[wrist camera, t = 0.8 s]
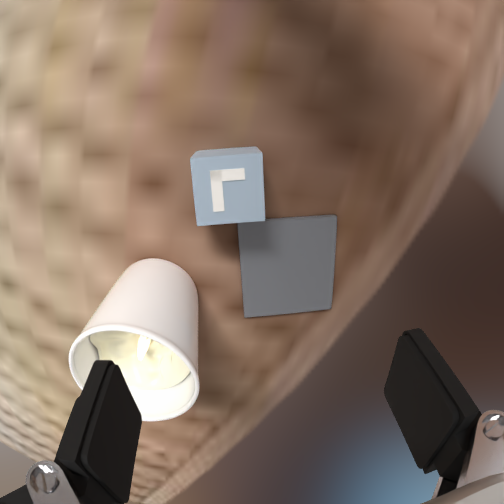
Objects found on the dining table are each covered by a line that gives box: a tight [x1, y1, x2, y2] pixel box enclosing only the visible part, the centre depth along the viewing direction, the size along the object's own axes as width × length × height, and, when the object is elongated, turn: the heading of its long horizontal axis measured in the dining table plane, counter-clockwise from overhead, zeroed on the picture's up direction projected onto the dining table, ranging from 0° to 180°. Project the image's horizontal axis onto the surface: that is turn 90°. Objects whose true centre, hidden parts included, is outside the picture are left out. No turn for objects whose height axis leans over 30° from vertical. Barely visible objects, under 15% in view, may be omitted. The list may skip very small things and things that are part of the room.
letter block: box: [190, 146, 265, 226], centre depth 25 cm, size 5×5×5 cm
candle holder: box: [69, 258, 200, 421], centre depth 26 cm, size 10×10×12 cm
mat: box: [237, 215, 337, 318], centre depth 31 cm, size 10×9×1 cm
